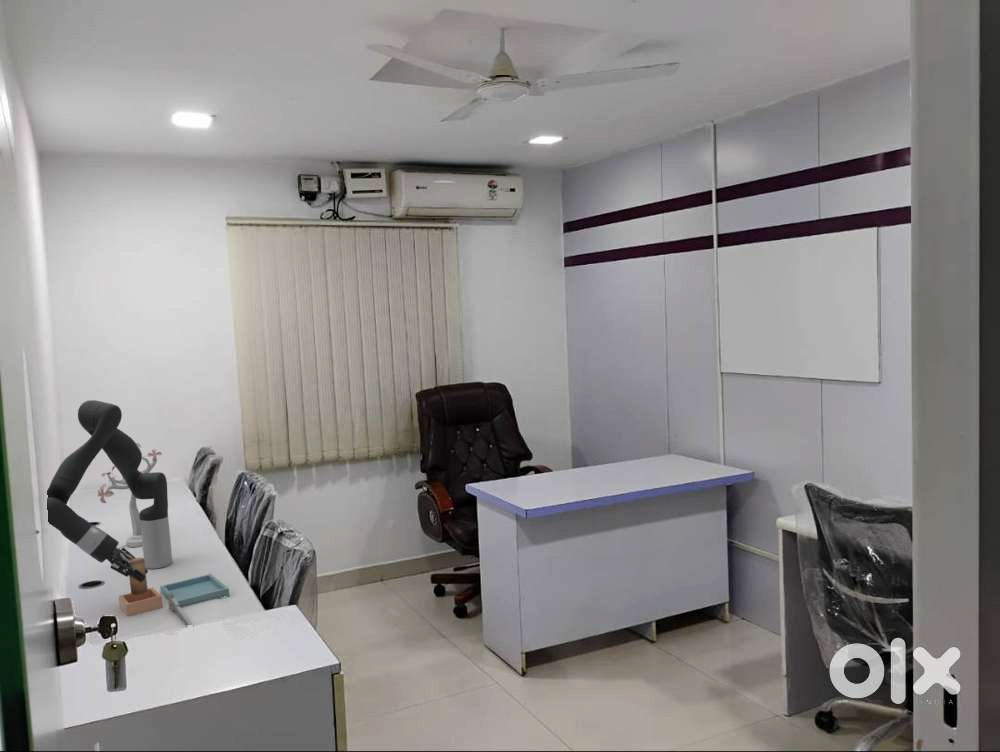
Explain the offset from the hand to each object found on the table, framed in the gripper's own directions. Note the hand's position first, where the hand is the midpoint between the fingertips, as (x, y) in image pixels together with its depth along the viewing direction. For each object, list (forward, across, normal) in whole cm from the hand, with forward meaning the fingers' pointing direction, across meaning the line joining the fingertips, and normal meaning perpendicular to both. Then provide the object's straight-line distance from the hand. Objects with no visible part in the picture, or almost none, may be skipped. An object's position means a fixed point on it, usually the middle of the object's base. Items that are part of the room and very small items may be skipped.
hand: (144, 576), depth 247 cm
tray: (+16, +5, -2) cm, 17 cm away
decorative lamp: (-2, +72, +17) cm, 74 cm away
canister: (+2, 0, +5) cm, 5 cm away
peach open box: (+6, 0, +8) cm, 10 cm away
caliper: (+15, -15, -1) cm, 21 cm away
